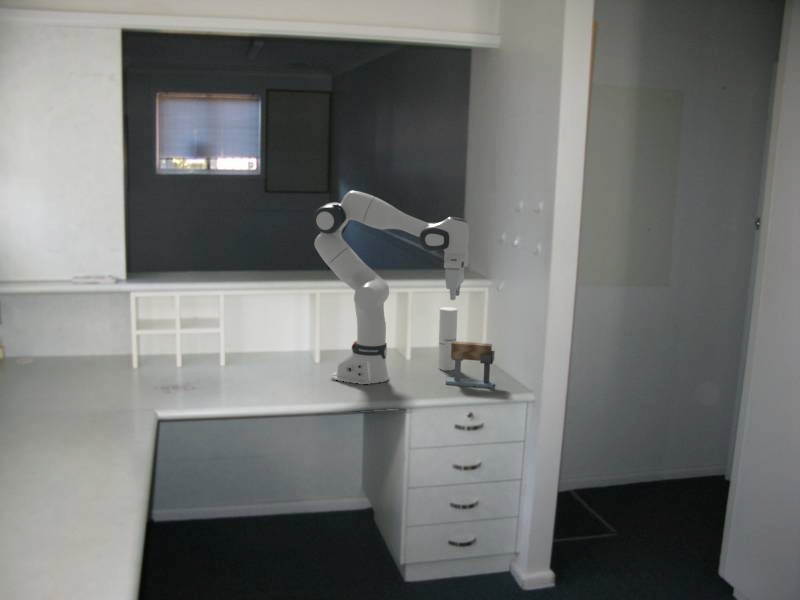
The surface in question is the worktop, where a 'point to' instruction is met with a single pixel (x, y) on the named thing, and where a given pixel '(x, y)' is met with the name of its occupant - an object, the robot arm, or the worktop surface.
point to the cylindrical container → (447, 337)
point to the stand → (486, 382)
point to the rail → (469, 350)
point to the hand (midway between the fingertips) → (454, 297)
